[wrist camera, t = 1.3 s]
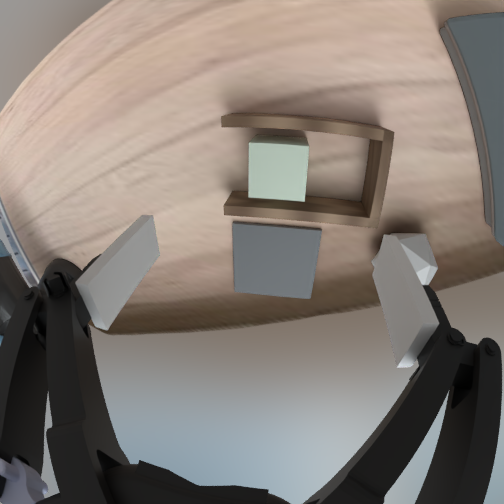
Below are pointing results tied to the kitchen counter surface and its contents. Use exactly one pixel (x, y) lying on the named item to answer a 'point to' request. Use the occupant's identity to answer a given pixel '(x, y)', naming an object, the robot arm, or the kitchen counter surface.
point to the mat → (275, 259)
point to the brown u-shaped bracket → (320, 207)
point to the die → (417, 255)
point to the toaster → (483, 99)
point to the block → (278, 167)
